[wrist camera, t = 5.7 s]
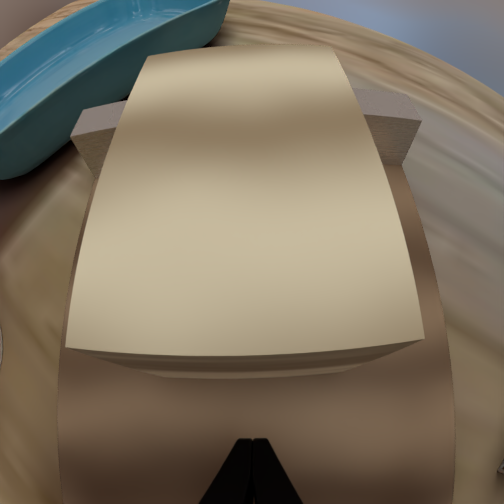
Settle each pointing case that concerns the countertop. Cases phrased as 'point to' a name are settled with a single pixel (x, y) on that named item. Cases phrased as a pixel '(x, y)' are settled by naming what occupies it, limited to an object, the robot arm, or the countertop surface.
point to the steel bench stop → (370, 101)
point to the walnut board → (268, 416)
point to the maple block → (243, 224)
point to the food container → (501, 468)
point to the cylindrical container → (0, 346)
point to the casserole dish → (88, 69)
